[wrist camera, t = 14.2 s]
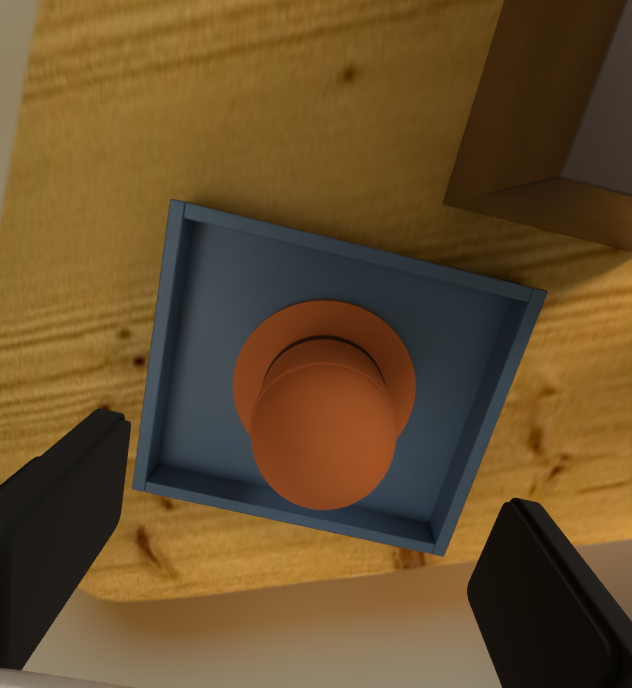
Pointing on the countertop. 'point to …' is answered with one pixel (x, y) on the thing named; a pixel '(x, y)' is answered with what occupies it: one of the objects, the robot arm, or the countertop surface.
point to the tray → (311, 284)
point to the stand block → (553, 122)
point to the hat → (324, 400)
